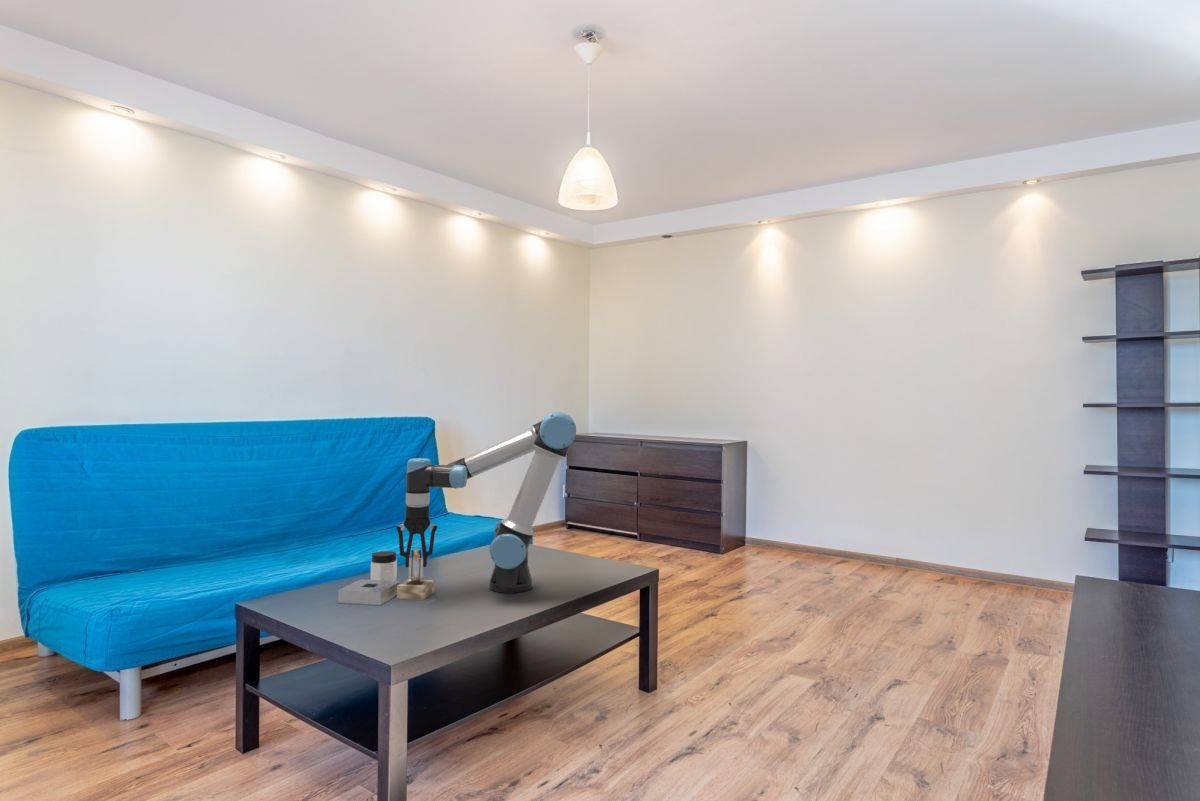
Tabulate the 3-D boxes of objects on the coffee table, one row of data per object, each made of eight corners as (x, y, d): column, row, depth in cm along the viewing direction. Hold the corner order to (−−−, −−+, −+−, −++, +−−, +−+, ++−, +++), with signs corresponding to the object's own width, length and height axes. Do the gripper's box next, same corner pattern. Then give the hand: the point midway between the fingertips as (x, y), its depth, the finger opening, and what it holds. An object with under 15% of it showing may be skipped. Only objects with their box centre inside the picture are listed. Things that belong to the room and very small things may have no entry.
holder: (434, 595, 225) (434, 580, 225) (423, 602, 216) (423, 587, 216) (408, 593, 226) (408, 578, 226) (396, 601, 217) (397, 585, 218)
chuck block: (399, 596, 223) (400, 581, 223) (380, 608, 209) (380, 592, 209) (359, 594, 225) (360, 579, 225) (338, 606, 211) (338, 590, 211)
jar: (373, 592, 227) (374, 556, 228) (367, 587, 234) (367, 552, 235) (399, 589, 232) (400, 554, 233) (393, 583, 239) (393, 550, 239)
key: (419, 595, 218) (420, 552, 219) (410, 595, 218) (411, 552, 218) (420, 589, 225) (421, 547, 225) (411, 590, 224) (412, 548, 225)
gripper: (442, 503, 227) (441, 573, 227) (393, 504, 224) (391, 575, 223) (442, 506, 220) (440, 578, 219) (391, 507, 217) (389, 580, 216)
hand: (415, 576), depth 221 cm, fingers closed on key, 3 cm apart
